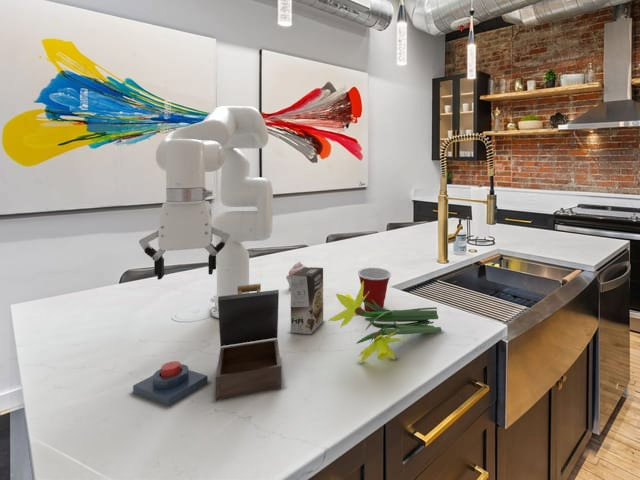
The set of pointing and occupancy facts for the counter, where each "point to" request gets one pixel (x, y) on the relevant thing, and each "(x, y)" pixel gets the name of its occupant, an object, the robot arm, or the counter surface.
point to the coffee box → (306, 300)
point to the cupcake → (293, 270)
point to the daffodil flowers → (384, 315)
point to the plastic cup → (374, 286)
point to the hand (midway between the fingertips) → (186, 275)
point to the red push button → (170, 369)
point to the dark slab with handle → (248, 315)
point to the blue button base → (170, 386)
